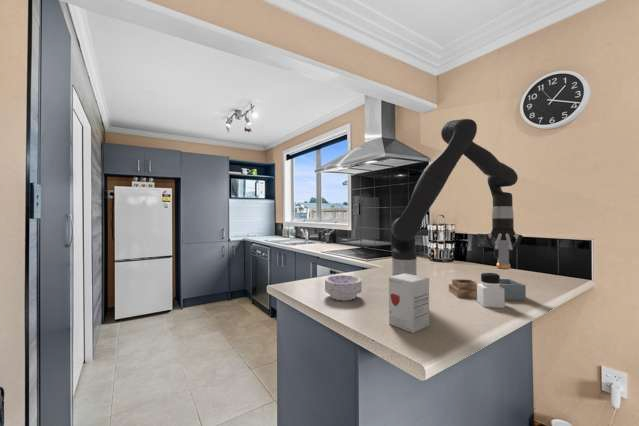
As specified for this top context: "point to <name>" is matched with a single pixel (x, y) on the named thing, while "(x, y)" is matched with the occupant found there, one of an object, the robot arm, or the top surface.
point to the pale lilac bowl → (343, 287)
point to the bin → (513, 289)
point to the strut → (503, 254)
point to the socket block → (463, 288)
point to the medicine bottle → (490, 291)
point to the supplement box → (409, 302)
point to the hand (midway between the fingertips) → (503, 258)
